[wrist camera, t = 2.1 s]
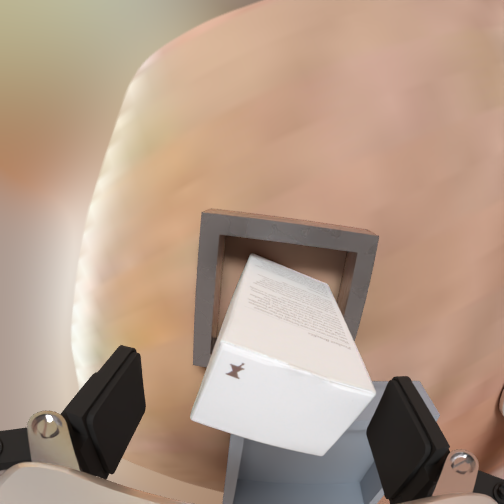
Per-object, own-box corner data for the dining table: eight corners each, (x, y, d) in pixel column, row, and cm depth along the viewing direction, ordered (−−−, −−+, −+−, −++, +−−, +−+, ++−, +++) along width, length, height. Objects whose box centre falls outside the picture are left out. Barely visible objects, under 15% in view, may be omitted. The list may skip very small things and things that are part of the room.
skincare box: (229, 303, 22) (183, 420, 10) (251, 250, 21) (217, 336, 9) (305, 333, 22) (323, 460, 10) (331, 283, 21) (382, 391, 9)
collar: (367, 229, 20) (379, 236, 17) (336, 364, 22) (341, 382, 20) (210, 208, 20) (201, 212, 18) (200, 347, 23) (192, 364, 20)
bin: (419, 380, 22) (439, 415, 17) (363, 480, 26) (369, 511, 21) (241, 370, 23) (233, 411, 18) (228, 474, 26) (222, 508, 22)
